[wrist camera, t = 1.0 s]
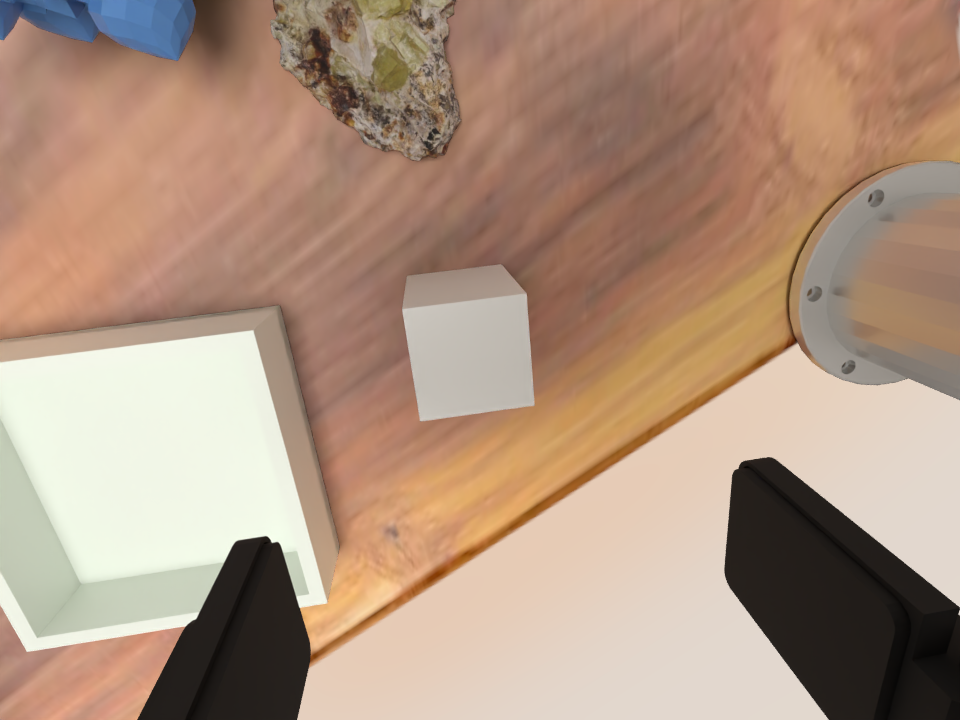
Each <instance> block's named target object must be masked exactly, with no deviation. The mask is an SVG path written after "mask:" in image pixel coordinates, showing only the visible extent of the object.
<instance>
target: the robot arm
mask: <svg viewBox="0 0 960 720" xmlns="http://www.w3.org/2000/svg"><path fill="white" fill-rule="evenodd" d="M789 302H790V320H791V324H792V328H793V332H794V336H795V338H796V340H797V342H798V344H799V346H800V348H801V349H802V351H803V352H804V353H805V354H806V355H807V357H808V358H809V359H810V360H811V361H812V362H813V363H814V364H815V365H817V366H818V367H820V368H821V369H822V370H824V371H825V372H827V373H829V374H832V375H834V376H835V377H837V378H839V379H842V380H845V381H849V382H853V383H856V384H865V385H881V384H887V383H895V382H898V381H901V380H905V379H908V378H909V379H911V380H914V381H916V382H919V383H921V384H924V385H926V386H928V387H930V388H933V389H935V390H937V391H940V392H942V393H944V394H947V395H949V396H952V397H954V398H956V399H959V400H960V163H956V162H952V161H921V162H913V163H905V164H902V165H899V166H896V167H892V168H889V169H886V170H883V171H881V172H880V173H878V174H876V175H874V176H872V177H870V178H868V179H866V180H864V181H863V182H861V183H860V184H859V185H857V186H856V187H855V188H853V189H852V190H851V191H849V192H848V193H847V194H845V195H844V196H843V197H842V198H841V199H840V200H839V201H838V202H837V203H836V204H835V205H834V206H833V207H832V208H831V209H830V210H829V211H828V212H827V213H826V214H825V215H824V217H823V218H822V219H821V221H820V222H819V224H818V225H817V226H816V228H815V229H814V230H813V232H812V233H811V235H810V237H809V239H808V241H807V243H806V244H805V246H804V248H803V250H802V252H801V254H800V256H799V259H798V262H797V265H796V268H795V271H794V274H793V278H792V284H791V290H790V297H789ZM725 577H726V580H727V583H728V585H729V587H730V588H731V590H732V591H733V592H734V594H735V595H736V597H737V598H738V599H739V601H740V602H741V603H742V605H743V606H744V607H745V608H746V610H747V611H748V613H749V614H750V615H751V617H752V618H753V619H754V621H755V622H756V623H757V624H758V626H759V627H760V629H761V630H762V631H763V633H764V634H765V635H766V637H767V638H768V639H769V640H770V642H771V643H772V645H773V646H774V647H775V649H776V650H777V651H778V653H779V654H780V655H781V657H782V658H783V659H784V661H785V662H786V663H787V664H788V666H789V667H790V669H791V670H792V671H793V672H794V674H795V675H796V676H797V678H798V679H799V681H800V682H801V683H802V684H803V686H804V687H805V689H806V690H807V691H808V692H809V694H810V695H811V697H812V698H813V699H814V701H815V702H816V703H817V705H818V706H819V707H820V708H821V710H822V711H823V712H824V714H825V715H826V717H827V718H828V719H829V720H960V615H958V613H959V610H960V607H959V606H957V605H956V604H955V603H953V602H952V601H951V600H950V599H948V598H947V597H946V596H945V595H944V594H942V593H941V592H940V591H939V590H937V589H936V588H935V587H933V586H932V585H931V584H930V583H929V582H927V581H926V580H925V579H924V578H923V577H921V576H920V575H919V574H918V573H916V572H915V571H914V570H912V569H911V568H910V567H909V566H907V565H906V564H905V563H904V562H903V561H901V560H900V559H899V558H898V557H896V556H895V555H894V554H893V553H891V552H890V551H889V550H888V549H886V548H885V547H884V546H883V545H881V544H880V543H879V542H878V541H876V540H875V539H874V538H873V537H871V536H870V535H869V534H868V533H867V532H865V531H864V530H863V529H862V528H860V527H859V526H858V525H857V524H855V523H854V522H853V521H851V520H850V519H849V518H848V517H847V516H845V515H844V514H843V513H842V512H840V511H839V510H838V509H837V508H835V507H834V506H833V505H832V504H830V503H829V502H828V501H826V500H825V499H824V498H823V497H822V496H820V495H819V494H818V493H817V492H815V491H814V490H813V489H812V488H810V487H809V486H808V485H807V484H805V483H804V482H803V481H802V480H801V479H799V478H798V477H797V476H796V475H794V474H793V473H792V472H791V471H789V470H788V469H787V468H786V467H784V466H783V465H782V464H780V463H779V462H778V461H777V460H775V459H773V458H770V457H767V458H760V459H754V460H747V461H743V462H742V463H741V464H740V465H739V469H737V470H735V471H734V472H733V475H732V485H731V497H730V509H729V521H728V533H727V544H726V556H725ZM310 655H311V649H310V641H309V638H308V634H307V631H306V628H305V624H304V621H303V618H302V614H301V611H300V608H299V604H298V601H297V598H296V594H295V591H294V587H293V584H292V581H291V577H290V574H289V571H288V567H287V564H286V561H285V557H284V554H283V551H282V547H281V545H280V543H279V542H273V543H272V542H271V540H270V538H269V537H267V536H262V537H256V538H250V539H243V540H238V541H236V542H235V543H234V544H233V546H232V548H231V550H230V552H229V554H228V556H227V558H226V560H225V562H224V564H223V566H222V568H221V570H220V572H219V574H218V576H217V578H216V580H215V582H214V584H213V586H212V588H211V590H210V592H209V594H208V596H207V598H206V600H205V602H204V604H203V606H202V608H201V610H200V612H199V614H198V616H197V618H196V620H192V621H191V622H190V623H189V624H187V626H186V627H185V629H184V630H183V632H182V634H181V636H180V637H179V639H178V641H177V643H176V645H175V647H174V649H173V651H172V653H171V655H170V657H169V659H168V661H167V663H166V665H165V667H164V669H163V671H162V673H161V675H160V677H159V678H158V680H157V682H156V684H155V686H154V688H153V690H152V692H151V694H150V696H149V698H148V700H147V702H146V704H145V706H144V708H143V710H142V712H141V714H140V716H139V717H138V719H137V720H297V718H298V713H299V709H300V704H301V700H302V695H303V691H304V686H305V681H306V677H307V673H308V668H309V663H310Z"/></svg>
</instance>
